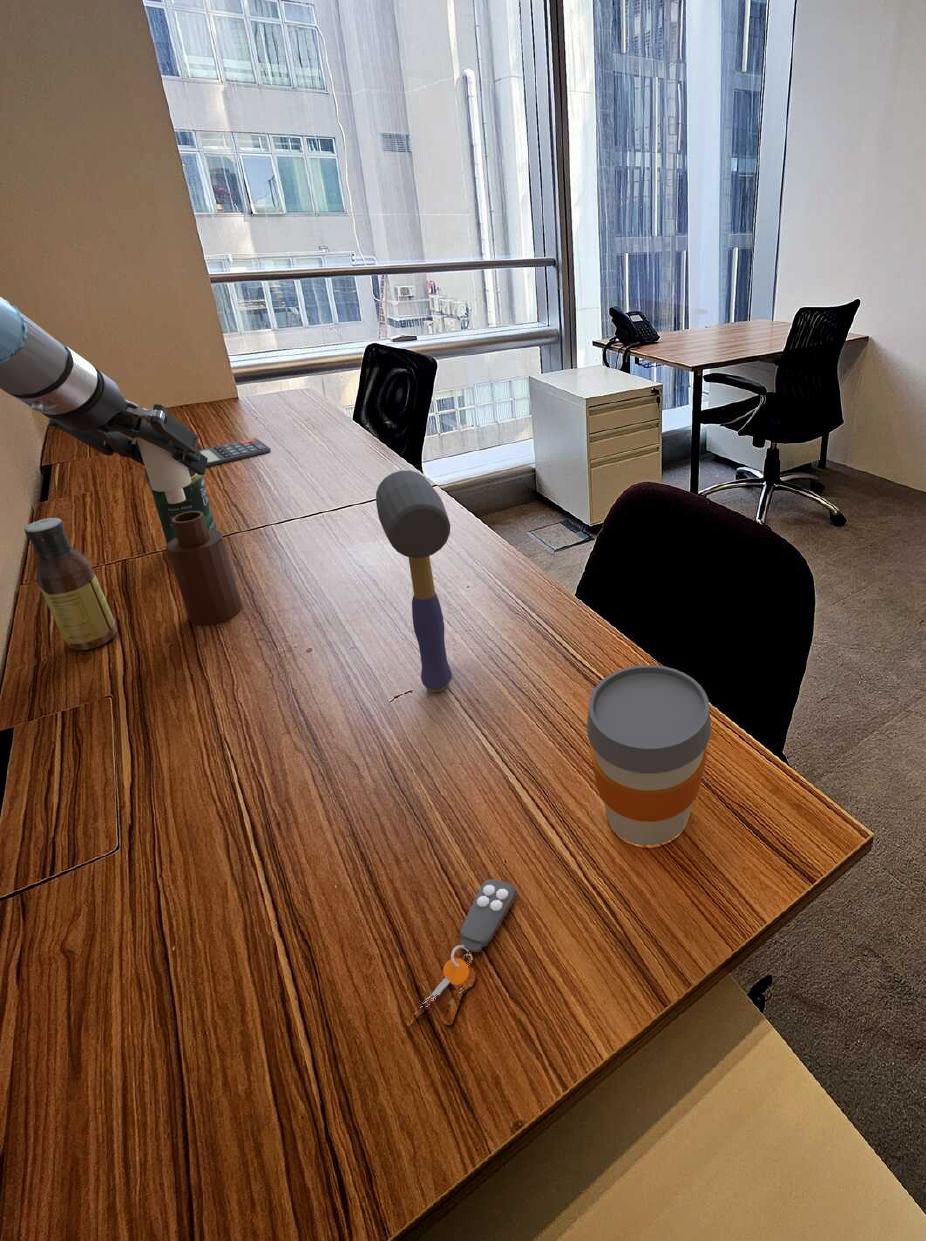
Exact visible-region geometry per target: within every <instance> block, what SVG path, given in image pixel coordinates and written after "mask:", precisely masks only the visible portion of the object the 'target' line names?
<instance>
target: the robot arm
mask: <svg viewBox="0 0 926 1241" xmlns="http://www.w3.org/2000/svg"><path fill="white" fill-rule="evenodd" d="M0 389H1V390H2V391H3V392H4V393H7V394H8V395H10V396H12V397H14V398H15V399H17V400H19V401H21V402H22V403H24V404H25V405H27V406H29V407H30V408H31V409H32V410H33V411H35V412H38V413H41V414H42V415H43V416H45V417H46V418H48V419H49V421H48V426H49V427H51V428H55V429H57V430H60V431H62V432H65V433H67V434H68V435H70V436H72V437H73V438H75V439H77V440H78V441H80V442H82V443H83V444H86V445H87V446H88V447H91V448H92V449H93V450H96V451H97V452H99V453H101V454H102V455H105V456H114V454H117V455H119V456H120V457H123V458H129V459H131V460H132V461H134V462H135V463H139V464H140V465H141V466H143V467H145V465H144V462H143V459H142V456H141V452H140V449H139V446H138V443H137V440H135V439H136V438H138V437H139V438H141V439H143V440H146V441H148V442H150V443H152V444H154V445H156V446H158V447H160V448H163V449H165V450H167V451H169V452H171V453H173V458H174V459H175V460H177V461H179V462H180V463H182V464H183V465H185V466H186V467H188V468H189V469H191V470H192V471H194V472H195V473H197V474H198V475H202V476H205V474H206V469H207V467H206V465H207V460H208V458H207V457H205V456H204V455H202V454H201V452H200V451H199V450H200V449H198V443H199V439H200V437H199V435H198V434H196V433H195V432H194V431H192V430H191V429H190V428H189V427H187V426H186V425H184V424H183V423H181V421H179V420H178V419H177V418H175V417H174V416H172V415H171V414H170V413H169V412H168V411H167V408H166V406H164V405H163V404H158V403H155V404H153V406H152V407H151V408H143V407H140V406H139V405H138V404H137V403H134V402H132V401H129V400H128V399H125V397H124V396H123V393H122V391H121V389H120V388H119V386H118V384H117V383H116V382H115V381H114V380H112V379H111V378H110V377H108V376H107V375H105V373H103V372H102V371H100V370H99V369H98V368H96V367H95V366H93V365H92V364H91V363H90V362H89V361H88V360H86V359H85V358H84V357H83V356H81V355H79V354H78V353H76V352H75V351H74V350H73V349H71V348H69V347H68V346H67V345H66V344H64V343H62V342H61V341H59V340H57V339H55V337H53V336H52V335H51V334H49V333H48V331H47V332H46V331H45V329H43V328H42V327H40V326H39V325H38V324H37V323H35V322H34V321H33V320H32V319H30V318H29V317H27V316H26V315H25V314H23V313H22V312H21V311H20V310H19V308H17V306H15V305H14V304H13V303H12V302H10V301H8V300H7V299H4V298H3V297H2V296H0ZM134 442H135V443H134Z"/></svg>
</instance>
